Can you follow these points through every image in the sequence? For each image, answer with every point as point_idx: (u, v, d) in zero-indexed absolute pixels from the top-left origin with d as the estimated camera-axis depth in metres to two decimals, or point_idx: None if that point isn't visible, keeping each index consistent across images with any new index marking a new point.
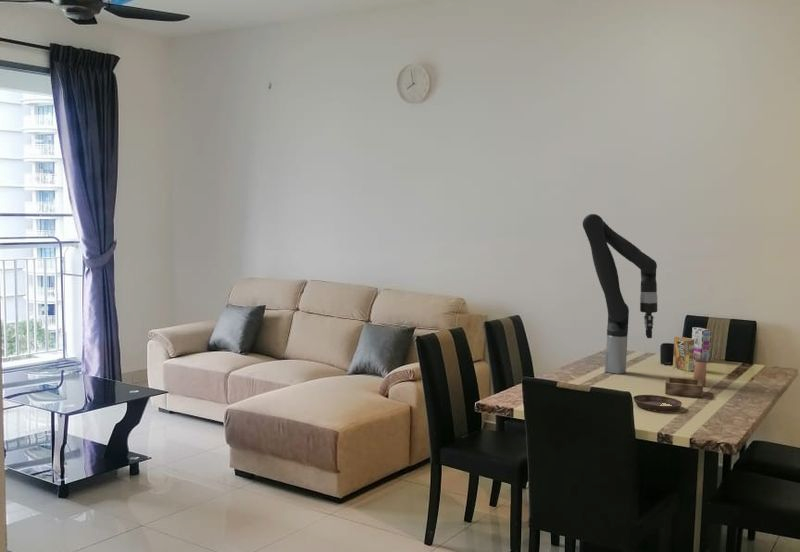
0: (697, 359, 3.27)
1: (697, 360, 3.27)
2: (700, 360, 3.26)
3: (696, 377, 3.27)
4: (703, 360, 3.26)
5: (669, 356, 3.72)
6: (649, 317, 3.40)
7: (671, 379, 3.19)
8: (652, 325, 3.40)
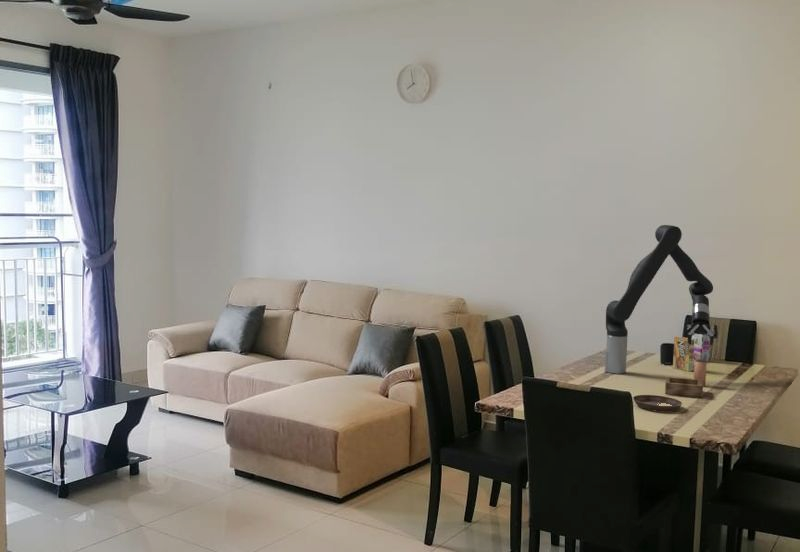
0: (697, 359, 3.27)
1: (697, 360, 3.27)
2: (700, 360, 3.26)
3: (696, 377, 3.27)
4: (703, 360, 3.26)
5: (669, 356, 3.72)
6: (716, 328, 3.42)
7: (671, 379, 3.19)
8: None
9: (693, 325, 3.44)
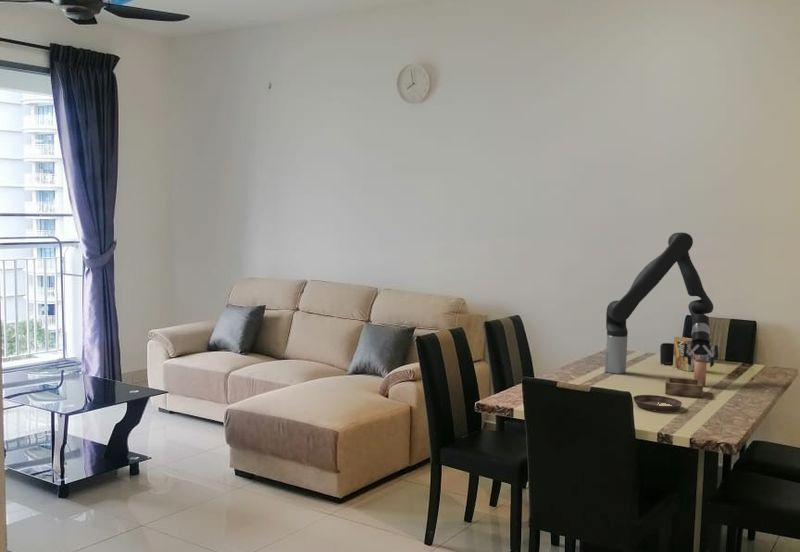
0: (697, 359, 3.27)
1: (697, 360, 3.27)
2: (700, 360, 3.26)
3: (696, 377, 3.27)
4: (703, 360, 3.25)
5: (669, 356, 3.72)
6: None
7: (671, 379, 3.19)
8: None
9: (693, 345, 3.35)
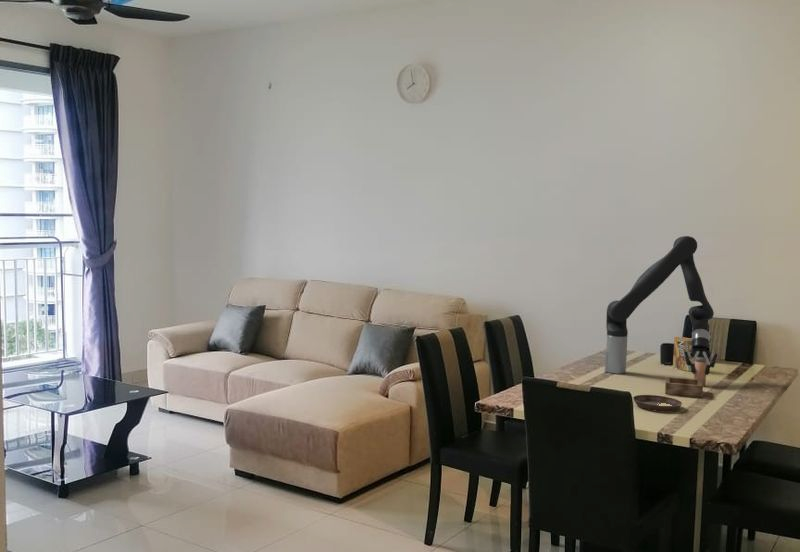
0: (697, 359, 3.27)
1: (697, 360, 3.27)
2: (700, 360, 3.26)
3: (696, 377, 3.27)
4: (703, 360, 3.25)
5: (669, 356, 3.72)
6: (716, 357, 3.30)
7: (671, 379, 3.19)
8: None
9: (693, 352, 3.33)
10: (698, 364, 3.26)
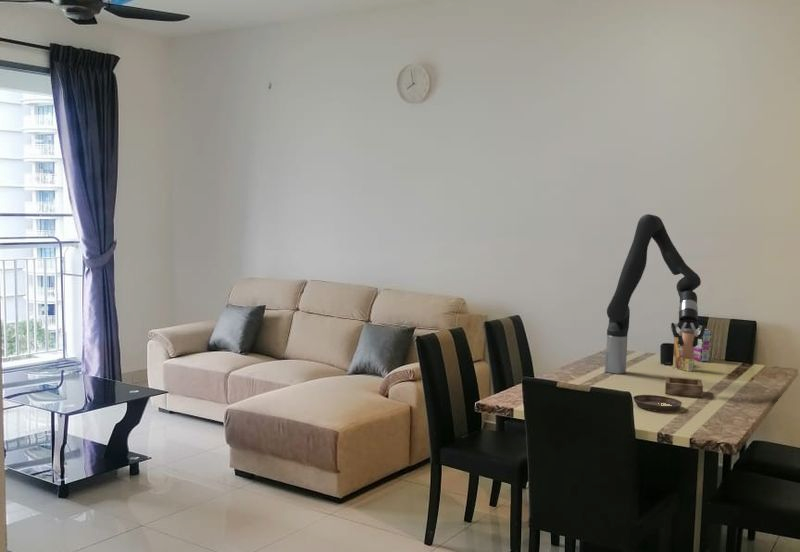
0: (685, 330, 3.11)
1: (685, 331, 3.11)
2: (687, 332, 3.10)
3: (684, 349, 3.11)
4: (691, 331, 3.10)
5: (669, 356, 3.72)
6: None
7: (671, 379, 3.19)
8: (702, 336, 3.13)
9: (680, 323, 3.17)
10: (686, 335, 3.10)
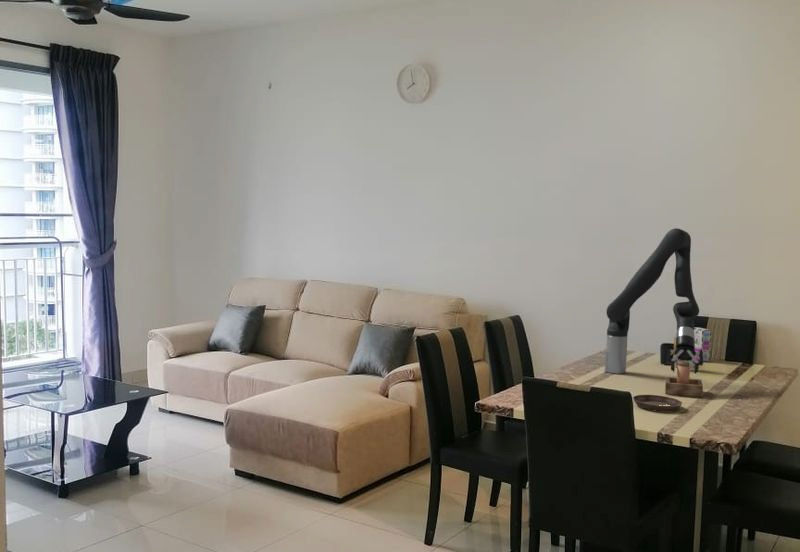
0: (680, 363, 3.11)
1: (680, 364, 3.11)
2: (683, 365, 3.10)
3: (679, 382, 3.11)
4: (686, 364, 3.10)
5: None
6: None
7: (671, 379, 3.19)
8: None
9: (677, 350, 3.17)
10: (681, 368, 3.10)
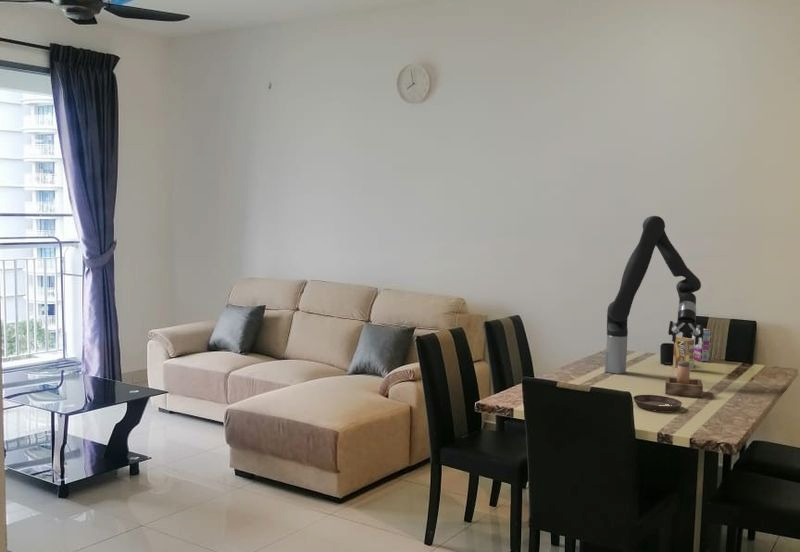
0: (680, 363, 3.11)
1: (680, 364, 3.11)
2: (683, 365, 3.10)
3: (679, 382, 3.11)
4: (686, 364, 3.10)
5: (669, 356, 3.72)
6: (702, 327, 3.28)
7: (671, 379, 3.19)
8: None
9: (678, 323, 3.30)
10: (681, 368, 3.10)
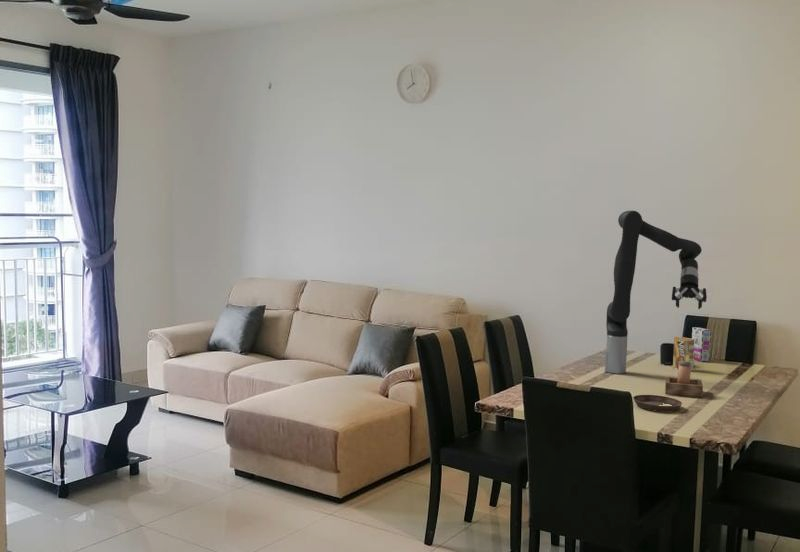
0: (681, 363, 3.11)
1: (681, 364, 3.11)
2: (684, 365, 3.10)
3: (680, 382, 3.11)
4: (687, 364, 3.10)
5: (669, 356, 3.72)
6: (705, 291, 3.32)
7: (671, 379, 3.19)
8: None
9: (681, 288, 3.34)
10: (682, 368, 3.10)
